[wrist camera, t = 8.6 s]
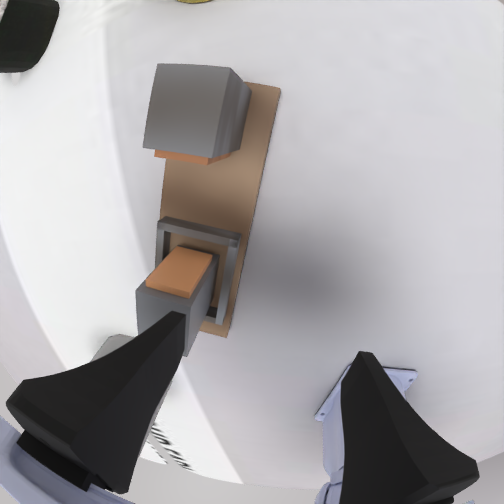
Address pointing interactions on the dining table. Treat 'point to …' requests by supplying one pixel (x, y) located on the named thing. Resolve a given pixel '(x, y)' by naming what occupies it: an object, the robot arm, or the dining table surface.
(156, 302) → the block
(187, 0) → the vase
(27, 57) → the sushi
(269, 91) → the wooden base with frame
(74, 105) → the dining table surface
